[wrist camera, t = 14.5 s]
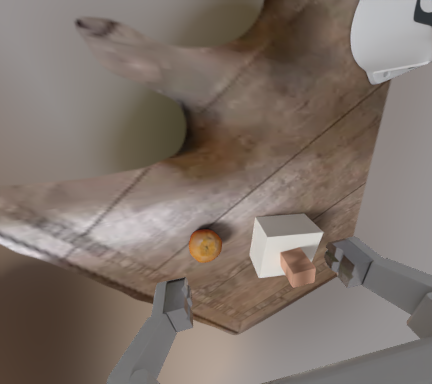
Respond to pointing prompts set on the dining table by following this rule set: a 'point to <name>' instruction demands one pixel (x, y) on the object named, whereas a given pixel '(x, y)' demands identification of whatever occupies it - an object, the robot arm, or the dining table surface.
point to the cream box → (281, 241)
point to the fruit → (205, 245)
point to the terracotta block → (297, 267)
